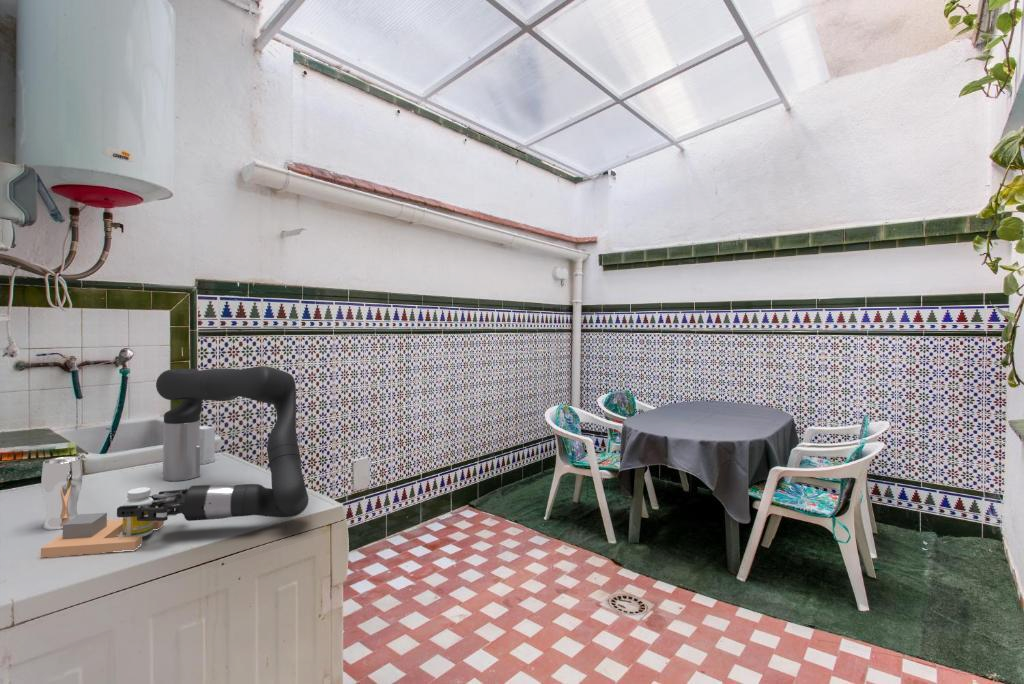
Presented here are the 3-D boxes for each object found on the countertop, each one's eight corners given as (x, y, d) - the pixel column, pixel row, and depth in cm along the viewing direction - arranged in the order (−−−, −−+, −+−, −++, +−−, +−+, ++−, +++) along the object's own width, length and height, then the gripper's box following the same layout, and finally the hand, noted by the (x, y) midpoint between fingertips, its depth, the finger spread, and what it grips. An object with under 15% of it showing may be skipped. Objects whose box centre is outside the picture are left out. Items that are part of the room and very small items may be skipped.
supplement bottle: (116, 538, 106) (116, 493, 105) (136, 528, 111) (136, 485, 111) (140, 539, 105) (140, 494, 105) (159, 529, 111) (160, 486, 110)
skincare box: (215, 461, 170) (215, 427, 170) (203, 464, 166) (204, 429, 166) (201, 459, 172) (202, 425, 172) (190, 462, 168) (191, 427, 168)
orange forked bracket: (163, 525, 115) (164, 503, 115) (135, 551, 102) (135, 527, 102) (81, 530, 111) (82, 508, 111) (40, 558, 98) (41, 533, 98)
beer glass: (46, 533, 109) (47, 465, 109) (36, 526, 113) (37, 460, 112) (86, 523, 115) (87, 459, 115) (75, 517, 119) (76, 454, 118)
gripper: (222, 476, 119) (140, 479, 114) (201, 495, 105) (107, 501, 100) (221, 507, 119) (139, 512, 114) (201, 531, 105) (106, 537, 100)
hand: (125, 506), depth 107 cm, fingers closed on supplement bottle, 5 cm apart
